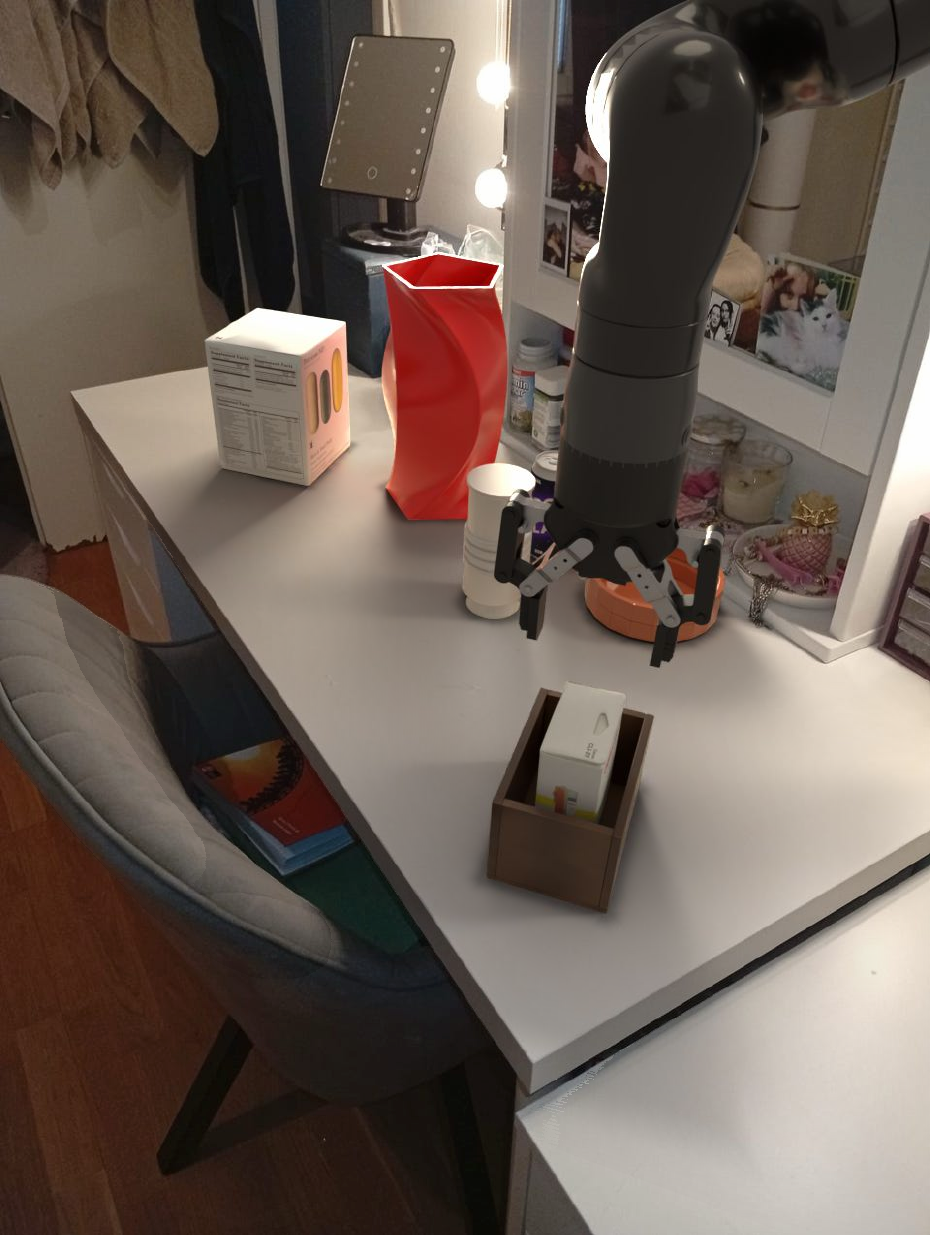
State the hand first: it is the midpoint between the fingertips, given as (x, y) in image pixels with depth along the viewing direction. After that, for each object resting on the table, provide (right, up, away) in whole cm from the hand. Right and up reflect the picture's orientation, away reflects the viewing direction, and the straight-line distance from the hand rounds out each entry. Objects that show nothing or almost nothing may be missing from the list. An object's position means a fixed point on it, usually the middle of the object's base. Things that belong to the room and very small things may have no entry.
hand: (594, 646), depth 64 cm
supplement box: (-33, +24, +62) cm, 74 cm away
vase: (-13, +18, +55) cm, 59 cm away
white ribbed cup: (-6, +3, +36) cm, 37 cm away
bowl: (+11, +3, +37) cm, 39 cm away
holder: (-1, -15, +11) cm, 19 cm away
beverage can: (+1, +9, +45) cm, 46 cm away
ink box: (-1, -15, +11) cm, 19 cm away
